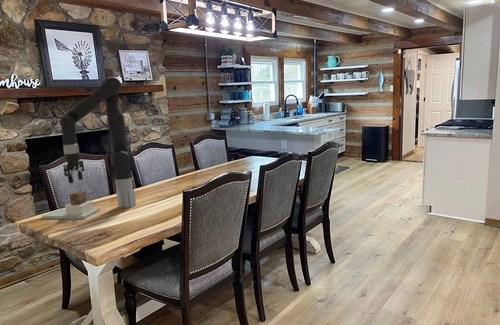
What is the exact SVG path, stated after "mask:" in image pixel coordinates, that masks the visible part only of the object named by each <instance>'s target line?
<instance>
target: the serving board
mask: <svg viewBox="0 0 500 325" xmlns="http://www.w3.org/2000/svg"><path fill="white" fill-rule="evenodd" d="M99 212H100V209H99V208H93V210H91V211H89V212H87V213H85V214H83V215H66V209H65V208H58V209H56V210H53V211H50V212H48V213H46V214H44V215H42V216H41V219H42V220H44V219H45V220H46V219H47V220H48V219H49V220H86V219H87V218H90V217H91V216H93V215H95V214H97V213H99Z"/></svg>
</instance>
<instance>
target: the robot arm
mask: <svg viewBox="0 0 500 325" xmlns="http://www.w3.org/2000/svg"><path fill="white" fill-rule="evenodd" d="M121 88H122V83H121V81H120V79H118V78H116V77H114V76H109V77H107V78H105V79H104V80H102V84H101V85H100V87H99V88H98V89H97V90H95V92H93V93H92V94H90V95H89V96H87V97H86V98H84V99H82V100H81V101H79V103H78V104H77V105H75V106H74V107H73V108H72V109H71V110H70V111H68V112H66V114H64V115H63V116H61V117H60V119H59V125H60V127H61V133H62V136H61V137H62V144H63V155H64V161H65V162H66V163H67V164H63V174H64V176H65V177H67V180H68V183H69V184H73V183H74V177H73V174H74V173H75V171H76V172H77V177H78V180H79V181H81V180H83V179H84V178H83V176H84V175H83V172H85V166H84V161H83V160H81V153H80V148H79V144H78V136H77V132H76V129H77V128H76V124H77V123H78V122H79V121H80V120H83V118H85V117H86V116H87V115H89V114H90V113H91V112H92V111H93V110H95V108H97V107H98V106H99V105H100V104H101V103H102V102H103V101H105V106H106V107H105V108H106V118H107V126H108V132H109V135H110V137H111V142H112V147H113V148H112V150H113V153H112V154H113V156H112V163H113V164H112V165H113V166H112V167H113V173H114V179H115V190H116V198H117V206H118V209H128V208H129V209H130V208H133V207H135V206H136V205H137V202H136V201H137V200H136V194H135V193H136V192H135V189H134V188H133V187H134V186H133V178H132V169H131V158H130V155H129V151H128V147H127V143H126V123H125V117H124V116H125V115H124V113H123V110H122V107H121V105H120V101H119V91H120V90H121Z"/></svg>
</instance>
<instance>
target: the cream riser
mask: <svg viewBox="0 0 500 325" xmlns="http://www.w3.org/2000/svg"><path fill="white" fill-rule="evenodd" d="M64 207H65V208H64V209H66V215H83V214H85V213H87V212H89V211H91V210H93V209H94V205H93V200H87V202H86V203H83V204H81V205H71V203H68V204H66V205H65V206H64Z"/></svg>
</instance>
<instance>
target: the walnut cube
mask: <svg viewBox="0 0 500 325" xmlns="http://www.w3.org/2000/svg"><path fill="white" fill-rule="evenodd" d="M86 192H87V191H74V192H72V193H69V202H70V203H69V204H71V205H81V204H83V203H86V202H87V201H88V200H87V193H86Z"/></svg>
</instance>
